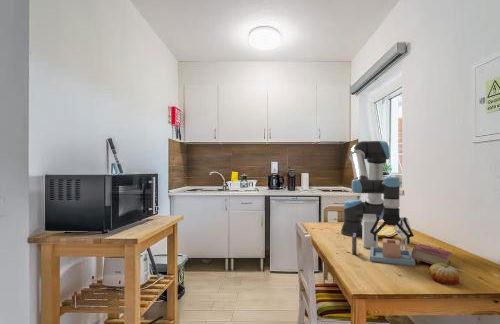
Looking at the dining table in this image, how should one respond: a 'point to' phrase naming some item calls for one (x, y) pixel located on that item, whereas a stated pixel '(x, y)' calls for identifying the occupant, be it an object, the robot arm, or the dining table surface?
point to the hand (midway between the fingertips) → (391, 248)
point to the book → (430, 254)
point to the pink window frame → (391, 248)
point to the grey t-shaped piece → (354, 243)
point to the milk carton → (368, 230)
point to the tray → (377, 256)
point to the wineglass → (401, 231)
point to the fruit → (444, 273)
